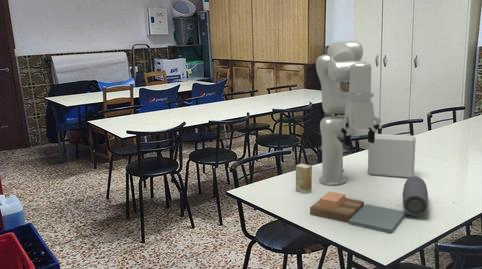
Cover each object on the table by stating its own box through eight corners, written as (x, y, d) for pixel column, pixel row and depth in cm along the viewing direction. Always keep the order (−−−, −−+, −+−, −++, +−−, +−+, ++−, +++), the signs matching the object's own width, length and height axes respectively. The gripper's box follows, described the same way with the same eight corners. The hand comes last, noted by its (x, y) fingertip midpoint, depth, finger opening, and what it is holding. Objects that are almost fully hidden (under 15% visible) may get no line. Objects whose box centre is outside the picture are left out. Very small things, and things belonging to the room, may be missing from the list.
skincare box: (295, 191, 195) (294, 165, 192) (301, 188, 198) (300, 163, 195) (306, 194, 190) (306, 167, 188) (312, 191, 193) (312, 165, 191)
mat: (365, 207, 173) (365, 204, 172) (405, 215, 164) (405, 211, 163) (348, 224, 159) (348, 220, 158) (391, 233, 150) (391, 229, 149)
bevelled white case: (414, 174, 209) (416, 134, 205) (413, 179, 202) (415, 138, 198) (369, 170, 218) (370, 132, 214) (367, 175, 211) (368, 136, 207)
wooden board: (327, 201, 181) (327, 194, 181) (363, 208, 172) (364, 201, 171) (310, 214, 169) (309, 207, 168) (348, 223, 160) (348, 215, 159)
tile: (329, 198, 176) (329, 191, 176) (345, 201, 172) (345, 194, 172) (319, 205, 169) (319, 198, 169) (336, 209, 165) (336, 201, 165)
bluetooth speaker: (402, 196, 182) (403, 174, 180) (426, 198, 179) (427, 175, 177) (401, 218, 162) (402, 193, 160) (428, 220, 158) (429, 195, 156)
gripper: (375, 94, 159) (374, 139, 162) (333, 98, 154) (333, 144, 158) (387, 96, 152) (386, 143, 155) (343, 101, 147) (343, 149, 151)
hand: (359, 143), depth 157 cm, fingers open, 9 cm apart
